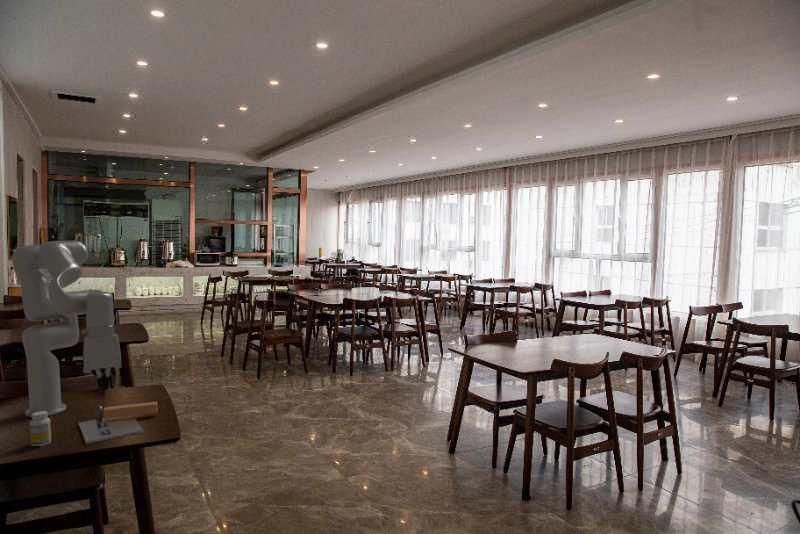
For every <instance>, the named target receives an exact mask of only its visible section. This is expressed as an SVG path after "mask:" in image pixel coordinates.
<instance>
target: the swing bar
mask: <svg viewBox="0 0 800 534" xmlns="http://www.w3.org/2000/svg"><path fill="white" fill-rule="evenodd" d="M102 412H103V418H104V419H106V418H115V417H123V416H132V415H133V416H140V415H147V414H157V413H158V401H149V402H140V403H133V404H132V403H131V404H124V405H123V404H121V405H115V406H114V405H113V406H105V407H104V408H103V409H102Z"/></svg>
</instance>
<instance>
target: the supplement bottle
mask: <svg viewBox="0 0 800 534" xmlns="http://www.w3.org/2000/svg"><path fill="white" fill-rule="evenodd" d="M31 419H32V420H30V422H29V435H30V439H29V440H30V445H31V447H33V446H40V447H44V446H48V445H49V444H51V442H52V425H51V419H50V418H49V417H48V413H47V411H39V412H35V413H33V414H32V417H31Z"/></svg>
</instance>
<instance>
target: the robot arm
mask: <svg viewBox="0 0 800 534" xmlns="http://www.w3.org/2000/svg"><path fill="white" fill-rule="evenodd" d="M88 257H89V252H88V249H87V247H86V245H85V244H84V243H83V242H82V241H80V240H51V241H47V242H44V243H42V244H32V245H31V244H29V245H24V246H19V247H17V248H15V249H14V251H13V253H12V261H11V262H12V267H13V270H14V273H15V275H16V277H17V278H18V281H19V284H20V289H21V290H20V291H21V298H22V305H23V306H22V307H23V313H24V316H25V318H26V319H27V320H28V321H31V322H39V321H40V322H41V321H47V320H55V319H58V320H59V321H58V322H50V323H49V322H48V323H43V324H36V325H33V326H30V327H27V328H26V329H25V330H24V331H23V332H22V335H21V338H22V339H21V340H22V344H23V348H24V353H25V360H26V367H27V369H26V371H27V383H28V384H27V385H28V397H29V398H28V399H29V400H28V401H29V402H28V403H29V408H27V409H26V410H25V411H24V416H26V417H28V418H29V417H30V418H32V414H33V413H35V412H39V411H47V413H48V416H54V415H57V414H59V413H63V412H64V411H65V410H66V409H67V404H65V403H63V402H62V394H61V377H60V376H61V375H60V373H61V372H60V361H59V360H58V358H57V357H56V356H55V354H53V353H52V352H51V351H53V350H58V349H63V348H64V349H65V348H69V347H73V346H75V345H77V343H78V342H79V341H80V340H79V339H80V328H79V320H78V316H79V315H85V317H86V318H85V319H86V328H84V329H81V335H86V336H85V337H84V341H83V350H82V351H83V352H82V353H83V354H82V355H83V358H82V360H83V361H82V363H83V370H82V372H83V373H84V374H93V376H95V377H97V379H96V380H97V388H99V389H100V390H101V391H104V390H108V387H109V386H110V376H111V374H112V373H114V371H116V370H119V369H121V368H122V366H123V365H122V355H121V354H122V353H121V347H120V340H119V335H118V334H117V333H115V321H114V320H115V314H114V298H113V297H114V296H113V294H112V293H111V292H109V291H103V290H100V289H87V290H75V291H65V290H64V288H66V287H68V286H70V285H72V284H74V283H76V282H77V281H78V280H79V279H80V277H81V276H82V271H83V270H82V267H81V266H82V265H83V264H85V263H86V262H87V260H88ZM80 265H81V266H80ZM43 269H45V270H47V272H48V273H49V275H50V276H51V277H52V278H51V279H50V281H49V279H48V277H47V276H46V275H45V274H44V273H43V272H42V271H41V270H43ZM102 369H104V372H103V374H102V373H101V370H102ZM48 416H47V417H48Z"/></svg>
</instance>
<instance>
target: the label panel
mask: <svg viewBox="0 0 800 534" xmlns="http://www.w3.org/2000/svg"><path fill="white" fill-rule="evenodd" d="M102 406H103V405H96V406H95V417H96V418H95V419H93V420H86V421H81V422H78V426H79V429H80V432H81V435H82V437H83V440H84V443H85V445H89V444H90V445H91V444H93V443H94V444H95V443H98V442H99V443H100V442H102V441H103V442H105V441H107V440H112V439H118V438H123V437H128V436H132V435H136V434H142V433H144V430H143V428H142V426H141V425H140V423H139V422H138V420H137V418H135V415H132V416H123V417H115V418H106V419H104V417H103V407H102Z"/></svg>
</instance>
